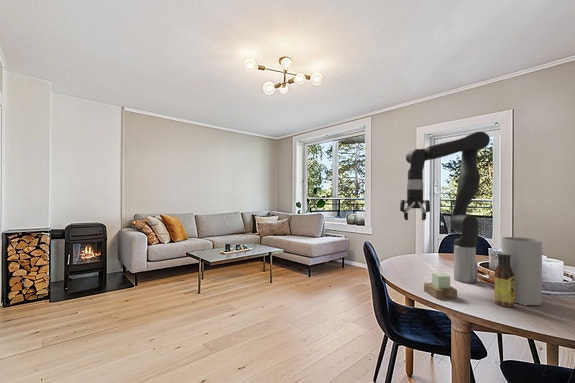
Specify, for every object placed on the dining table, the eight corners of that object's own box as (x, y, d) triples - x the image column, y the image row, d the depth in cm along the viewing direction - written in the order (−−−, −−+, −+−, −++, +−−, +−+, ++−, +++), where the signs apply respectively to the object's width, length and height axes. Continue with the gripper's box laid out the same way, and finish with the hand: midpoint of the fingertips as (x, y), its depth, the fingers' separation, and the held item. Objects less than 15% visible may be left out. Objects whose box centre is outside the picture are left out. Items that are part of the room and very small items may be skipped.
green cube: (443, 284, 123) (443, 273, 123) (450, 288, 118) (450, 276, 118) (432, 284, 123) (432, 273, 123) (438, 288, 118) (438, 276, 118)
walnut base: (443, 291, 125) (443, 282, 125) (456, 299, 116) (457, 289, 116) (424, 292, 125) (424, 283, 125) (436, 299, 116) (436, 289, 116)
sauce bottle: (515, 309, 105) (516, 256, 106) (495, 305, 109) (495, 254, 109) (513, 303, 111) (513, 253, 111) (493, 300, 114) (493, 251, 114)
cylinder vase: (501, 293, 123) (501, 236, 123) (539, 299, 116) (539, 239, 116) (502, 301, 113) (502, 239, 113) (544, 309, 106) (544, 243, 106)
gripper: (425, 188, 147) (425, 219, 147) (398, 188, 148) (398, 219, 148) (432, 188, 140) (432, 221, 140) (403, 188, 140) (403, 220, 140)
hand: (414, 220), depth 144 cm, fingers open, 8 cm apart
